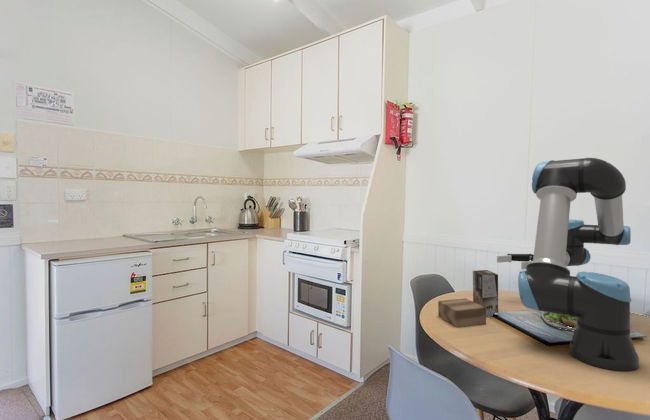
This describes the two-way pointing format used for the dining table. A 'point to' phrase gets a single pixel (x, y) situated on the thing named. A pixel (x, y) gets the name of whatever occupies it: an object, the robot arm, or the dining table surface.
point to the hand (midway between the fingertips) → (509, 262)
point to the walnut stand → (462, 312)
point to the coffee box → (486, 290)
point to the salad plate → (560, 320)
